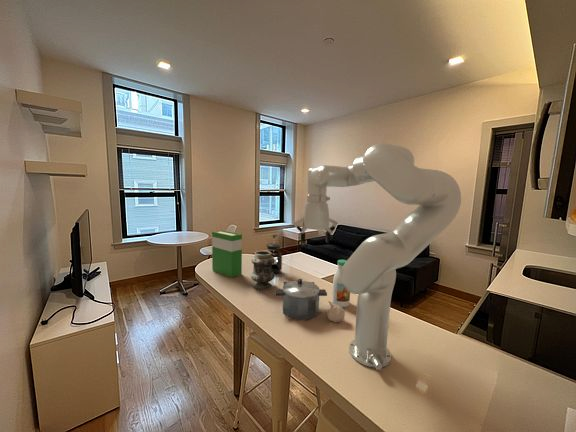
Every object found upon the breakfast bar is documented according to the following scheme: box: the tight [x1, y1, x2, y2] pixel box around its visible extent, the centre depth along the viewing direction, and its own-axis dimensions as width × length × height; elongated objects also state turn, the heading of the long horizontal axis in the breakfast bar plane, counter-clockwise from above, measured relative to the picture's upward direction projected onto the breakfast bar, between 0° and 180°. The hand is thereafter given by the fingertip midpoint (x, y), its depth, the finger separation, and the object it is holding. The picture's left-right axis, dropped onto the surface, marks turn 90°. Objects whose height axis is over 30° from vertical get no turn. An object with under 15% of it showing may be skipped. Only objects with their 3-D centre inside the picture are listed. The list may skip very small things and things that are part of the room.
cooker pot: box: [275, 281, 328, 321], centre depth 102 cm, size 16×21×9 cm
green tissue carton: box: [211, 229, 243, 278], centre depth 143 cm, size 18×7×24 cm, turn 53°
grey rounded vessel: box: [250, 250, 275, 291], centre depth 125 cm, size 12×12×18 cm
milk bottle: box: [331, 259, 351, 308], centre depth 108 cm, size 8×8×20 cm
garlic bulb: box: [326, 301, 346, 323], centre depth 95 cm, size 7×6×8 cm
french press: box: [266, 234, 283, 276], centre depth 146 cm, size 12×9×23 cm
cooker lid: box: [282, 278, 320, 299], centre depth 101 cm, size 16×15×3 cm
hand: (315, 242), depth 97 cm, fingers open, 9 cm apart
